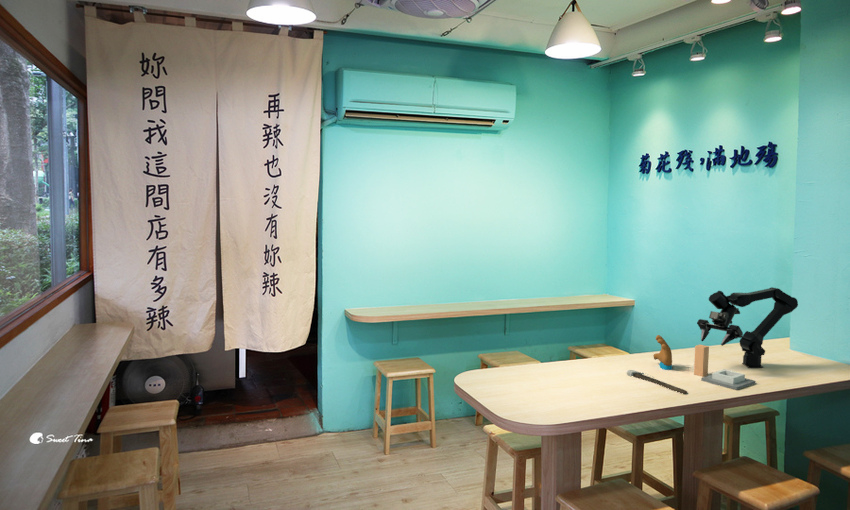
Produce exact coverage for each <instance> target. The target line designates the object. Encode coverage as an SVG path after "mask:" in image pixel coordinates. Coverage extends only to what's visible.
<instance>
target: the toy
mask: <svg viewBox="0 0 850 510" xmlns="http://www.w3.org/2000/svg"><path fill="white" fill-rule="evenodd" d="M655 340H656V341H657V343H658V344H659V345H660V348H661V349H660V351H659V353H654V354H653V360H655V361H656V360H658V361H659V363H658V364H659V368H660V369H662V370H664V371H671V370H672V369H673V368H672V367H673V355H672V349H671V347H670V345H669V344H668V343H667V342H666V341H665V339H664V338H663V337H662V336H661V335H659V334H657V335H656V337H655Z"/></svg>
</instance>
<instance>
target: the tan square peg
mask: <svg viewBox="0 0 850 510" xmlns="http://www.w3.org/2000/svg"><path fill="white" fill-rule="evenodd" d="M709 350H710V346H709V345H705V344H697V345H695V346H694V368H693V375H694V376H699V377H701V378H703V377H706V376H709V356H710V355H709V352H710V351H709Z"/></svg>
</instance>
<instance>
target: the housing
mask: <svg viewBox="0 0 850 510" xmlns="http://www.w3.org/2000/svg"><path fill="white" fill-rule="evenodd" d="M745 376H746V374H745V373H741V372H737V371H733V370H732V371H731V370H728V369H724V368H723V369H720V370H718V371H714V372H712V374H710V375H709V374H708V375H707V376H704V377H701V378H700V379H701V381H702V382H704V383H705V382H706V383H709V384H712V385H715V386H719V385H720V386H719V387H724V388H726V389H730V388H731V390H734V389H735V390H734V391H738V390H741V389H744V388H747V387H749V385H750V386H752V384H753V385H755V384H756V380H754V379H749V378H745ZM743 387H744V388H743Z"/></svg>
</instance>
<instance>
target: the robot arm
mask: <svg viewBox="0 0 850 510" xmlns="http://www.w3.org/2000/svg"><path fill="white" fill-rule="evenodd" d="M769 299H772V300H773V301H774V304H773V309H772V310H770V312H769V313H768V314H767V315H766V317H765V318H764V319H763V320H761V322H760V323H759V324H758V325H757V326H756V328H755V329H753V330H752V331H748V330H746V331H745V332H744V333H743V331H742V329H741V327H740V325H735V324H733V321H732V320H733V318H734V317H735V315H740V314H741V311H740V310H739V307H740V308H745V307H747V306H749V305H751V304H752V303H754V302H759V301H762V300H769ZM708 301H709V302H710V303H711V305H712V306H714V308H715V309H717V310H720V312H717V311H711V310H710V313H709V316H708V318H709V319H711V322H712V323H710V322H709V320H708V319H703V318H700V319H698V320H697V323H696V324H697V326H698V327H699V329H700V331H701V333H700V335H701V337H700V341H701V342H703V341H705V340H706V338H707V337H708V336H709V334H710V331H711V330H712V329H713V330H716V331H717V330H718V331H723V332H726V333H725V336H724V337H723V338H722V341H721V343H720V345H721V347H722V346H724V345H726V344H727V343H729V342H731V341H734V340H735V339H736V340H737V339H739V345H740V348H741V350H742V352H744V354H743V355H742V363H741V365H743V366H745V367H747V368H753V369H754V368H755V369H756V368H757V369H758V368H760V369H762V368H764V366H762V356H765V354H766V350H765V348H763V346H762V345H763V342H764V337H765V336H767V334H768V333H769V332H771V330H772V329H773V328H774V327H775V325H777V323H778V322H779V321H780V320H781V319H782V318H783V317H784V316H785V315H787V314H790V313H792V312H793V311H795V310H796V309H797V307H799V303H798V299H797V298H796V297H793V296H791V295H789V294H788V293H786V292H784V291H783V290H782V289H780V288H777V287H773V286H772V287H769V288H764V289H760V290H755V291H751V292H732V293H730V294H729V295H726V294H724V292H723V291H722V290H718V291H715V292H713V293H712V294H710V295H709V297H708Z"/></svg>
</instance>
